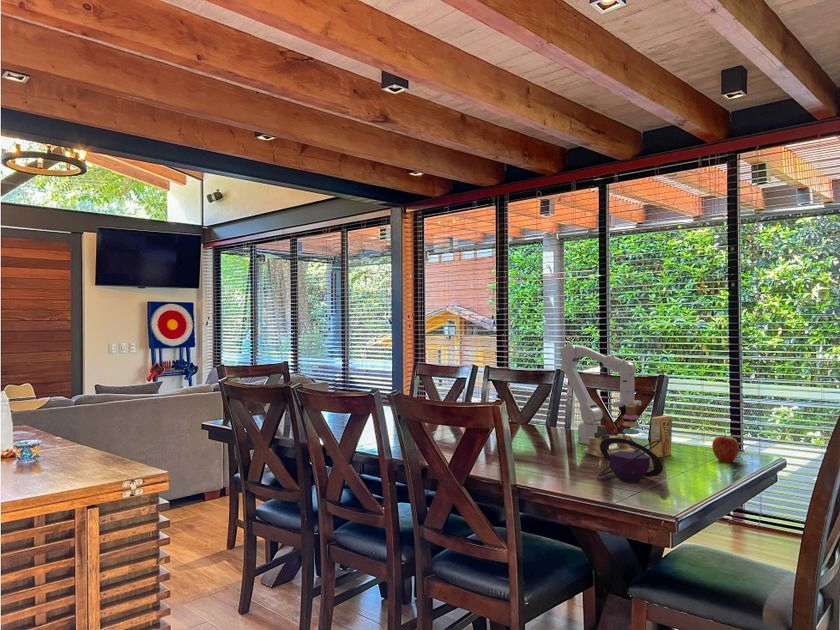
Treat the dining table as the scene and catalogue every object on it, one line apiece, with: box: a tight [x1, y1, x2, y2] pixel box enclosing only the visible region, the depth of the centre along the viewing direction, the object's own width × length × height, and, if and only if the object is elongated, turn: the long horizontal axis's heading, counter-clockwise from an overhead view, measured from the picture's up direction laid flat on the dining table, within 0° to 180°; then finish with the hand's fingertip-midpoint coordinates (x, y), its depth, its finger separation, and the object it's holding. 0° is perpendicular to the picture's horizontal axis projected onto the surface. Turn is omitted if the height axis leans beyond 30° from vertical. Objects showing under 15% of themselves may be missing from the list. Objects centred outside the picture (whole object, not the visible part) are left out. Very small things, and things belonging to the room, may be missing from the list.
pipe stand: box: [583, 433, 636, 458], centre depth 251 cm, size 10×18×7 cm, turn 118°
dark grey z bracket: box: [594, 424, 610, 450], centre depth 249 cm, size 6×2×9 cm, turn 28°
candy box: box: [650, 415, 673, 458], centre depth 247 cm, size 9×4×15 cm, turn 129°
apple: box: [711, 434, 740, 463], centre depth 238 cm, size 9×9×10 cm
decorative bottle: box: [598, 404, 664, 484], centre depth 207 cm, size 22×21×25 cm
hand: (627, 423), depth 260 cm, fingers closed
